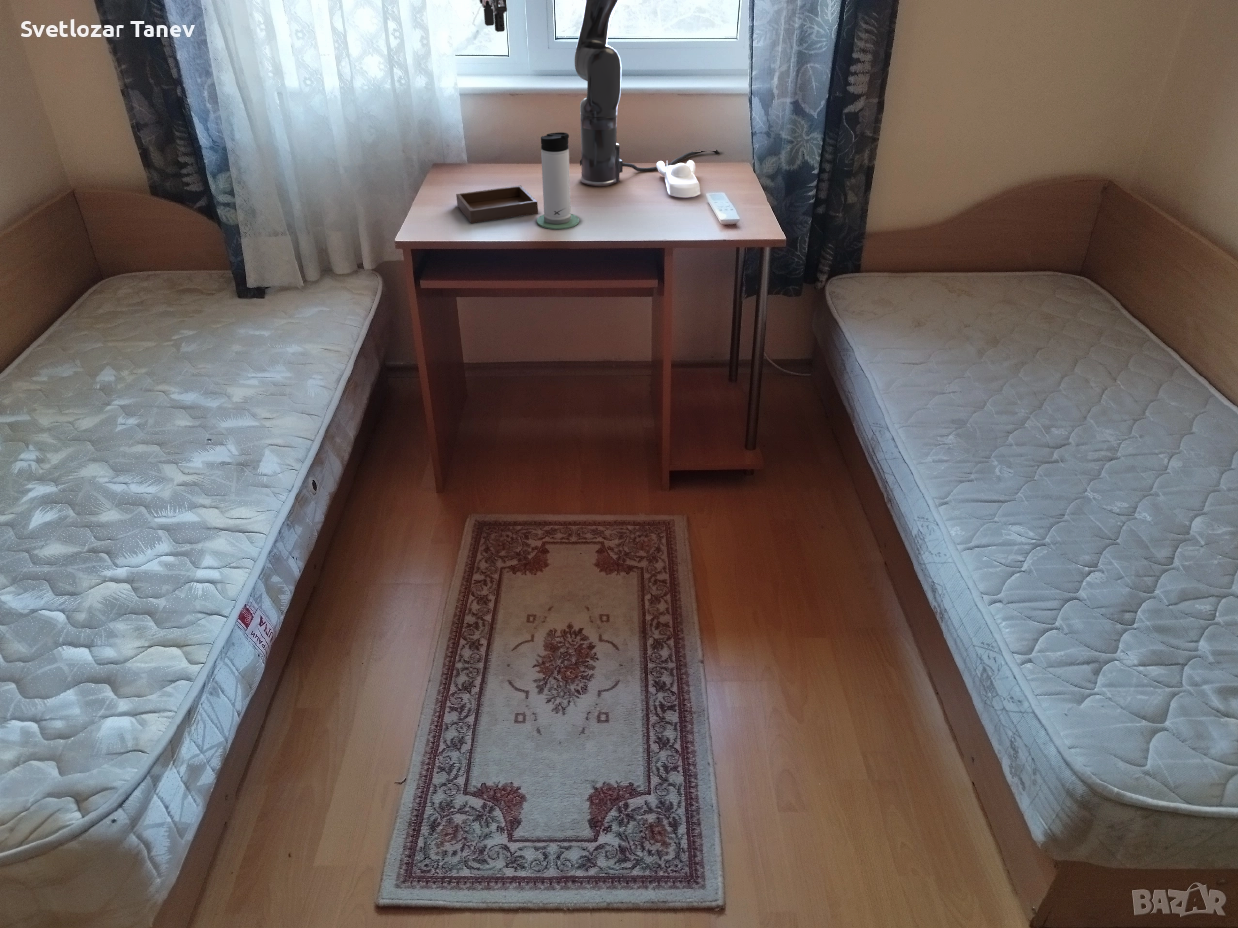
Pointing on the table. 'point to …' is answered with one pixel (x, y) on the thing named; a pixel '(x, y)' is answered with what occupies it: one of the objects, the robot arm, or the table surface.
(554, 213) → the travel mug
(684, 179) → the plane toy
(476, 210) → the tray
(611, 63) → the robot arm
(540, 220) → the coaster
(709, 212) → the table surface
